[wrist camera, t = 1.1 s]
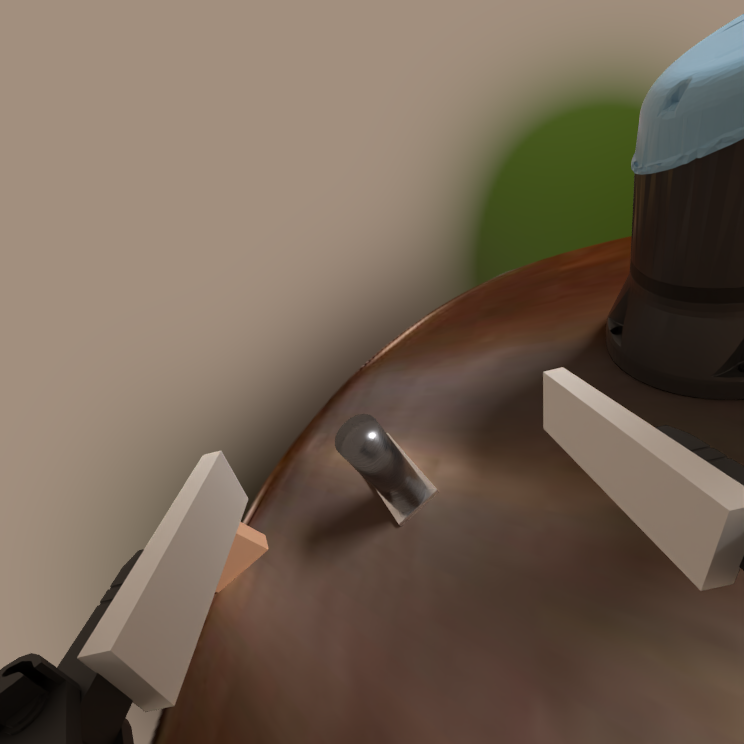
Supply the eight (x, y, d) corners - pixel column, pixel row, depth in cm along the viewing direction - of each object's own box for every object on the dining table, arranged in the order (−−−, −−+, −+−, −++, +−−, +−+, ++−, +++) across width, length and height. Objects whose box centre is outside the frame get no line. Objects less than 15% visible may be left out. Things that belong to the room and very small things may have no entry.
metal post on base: (389, 435, 40) (342, 374, 33) (439, 492, 32) (391, 427, 25) (358, 461, 39) (303, 405, 32) (401, 526, 31) (341, 470, 24)
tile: (265, 534, 38) (208, 504, 33) (268, 549, 36) (209, 519, 31) (216, 575, 37) (150, 551, 32) (218, 592, 36) (148, 570, 30)
